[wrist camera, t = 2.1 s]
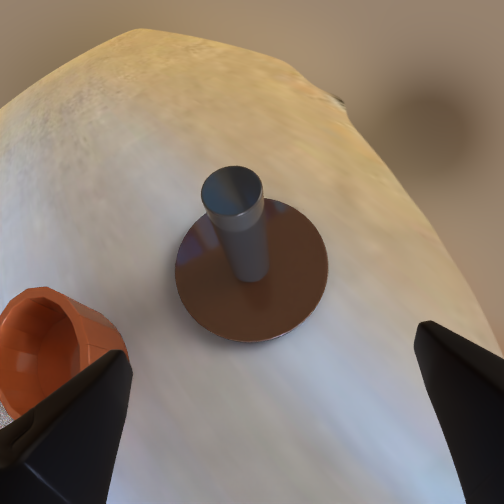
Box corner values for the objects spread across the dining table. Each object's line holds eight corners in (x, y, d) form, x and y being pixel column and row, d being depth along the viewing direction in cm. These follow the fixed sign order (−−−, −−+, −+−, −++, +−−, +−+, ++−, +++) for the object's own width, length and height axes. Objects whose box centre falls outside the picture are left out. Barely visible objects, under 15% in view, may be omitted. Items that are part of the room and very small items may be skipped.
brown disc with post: (263, 375, 21) (248, 368, 12) (151, 281, 25) (82, 216, 15) (354, 254, 24) (392, 171, 15) (241, 183, 28) (222, 88, 18)
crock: (83, 452, 19) (39, 461, 14) (20, 364, 23) (-24, 353, 17) (155, 368, 22) (118, 360, 17) (79, 285, 26) (39, 259, 20)
